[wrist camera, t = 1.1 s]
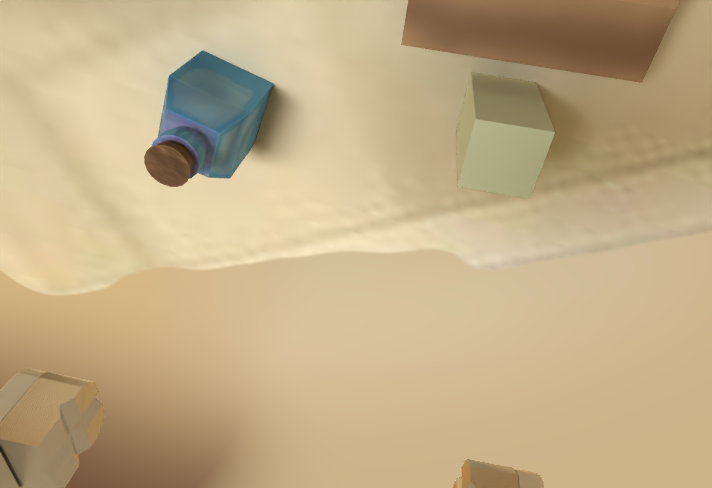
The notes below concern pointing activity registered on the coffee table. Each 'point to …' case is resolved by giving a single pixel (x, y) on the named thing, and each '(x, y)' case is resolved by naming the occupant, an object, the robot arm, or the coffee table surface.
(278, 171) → the coffee table surface
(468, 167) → the sage plug
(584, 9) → the walnut stand
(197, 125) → the perfume bottle
